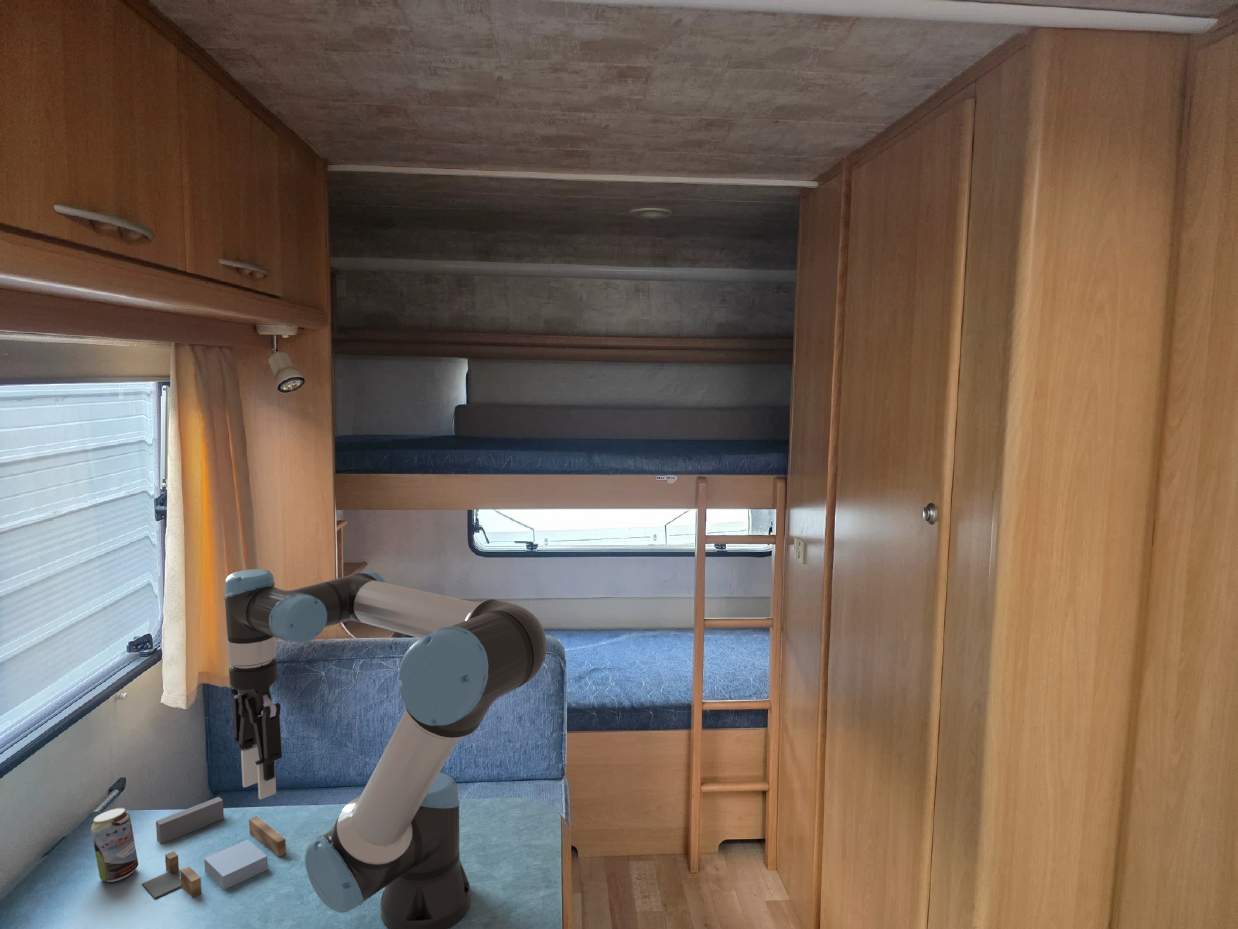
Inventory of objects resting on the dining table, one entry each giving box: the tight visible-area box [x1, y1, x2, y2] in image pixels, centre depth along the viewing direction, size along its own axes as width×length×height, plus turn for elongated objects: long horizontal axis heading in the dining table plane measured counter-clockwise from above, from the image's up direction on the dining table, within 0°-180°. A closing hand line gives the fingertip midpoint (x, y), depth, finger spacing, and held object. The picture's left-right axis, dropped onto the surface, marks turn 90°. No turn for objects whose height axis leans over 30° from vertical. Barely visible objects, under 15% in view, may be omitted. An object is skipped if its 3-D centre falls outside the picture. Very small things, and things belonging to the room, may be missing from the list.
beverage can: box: [90, 807, 139, 883], centre depth 144 cm, size 6×7×12 cm
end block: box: [155, 796, 225, 845], centre depth 159 cm, size 2×12×4 cm, turn 139°
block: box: [204, 839, 269, 891], centre depth 146 cm, size 8×8×3 cm
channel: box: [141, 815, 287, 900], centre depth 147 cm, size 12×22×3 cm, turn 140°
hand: (259, 789), depth 137 cm, fingers open, 5 cm apart
